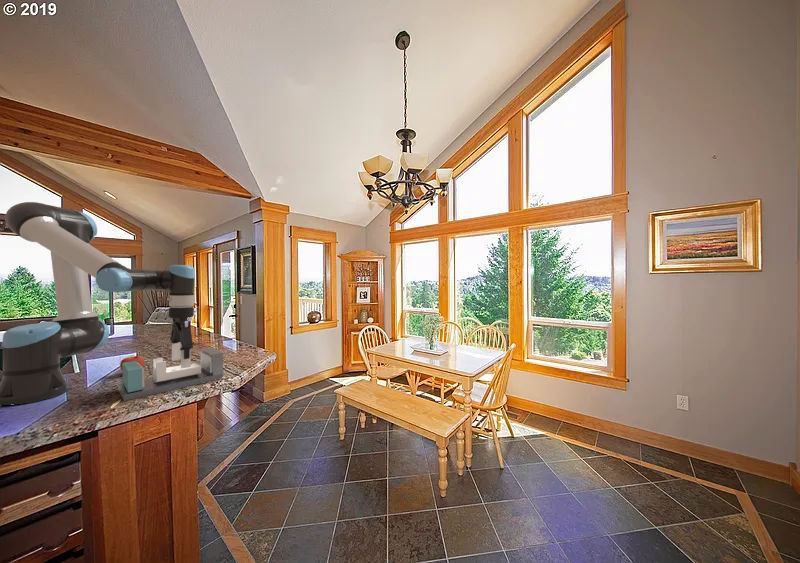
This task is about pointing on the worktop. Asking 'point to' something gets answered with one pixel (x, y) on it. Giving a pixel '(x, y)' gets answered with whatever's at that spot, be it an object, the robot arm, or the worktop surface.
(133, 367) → the block
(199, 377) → the vise base
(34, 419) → the worktop surface
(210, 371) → the block
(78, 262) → the robot arm
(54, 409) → the worktop surface
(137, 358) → the apple
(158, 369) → the bracket
